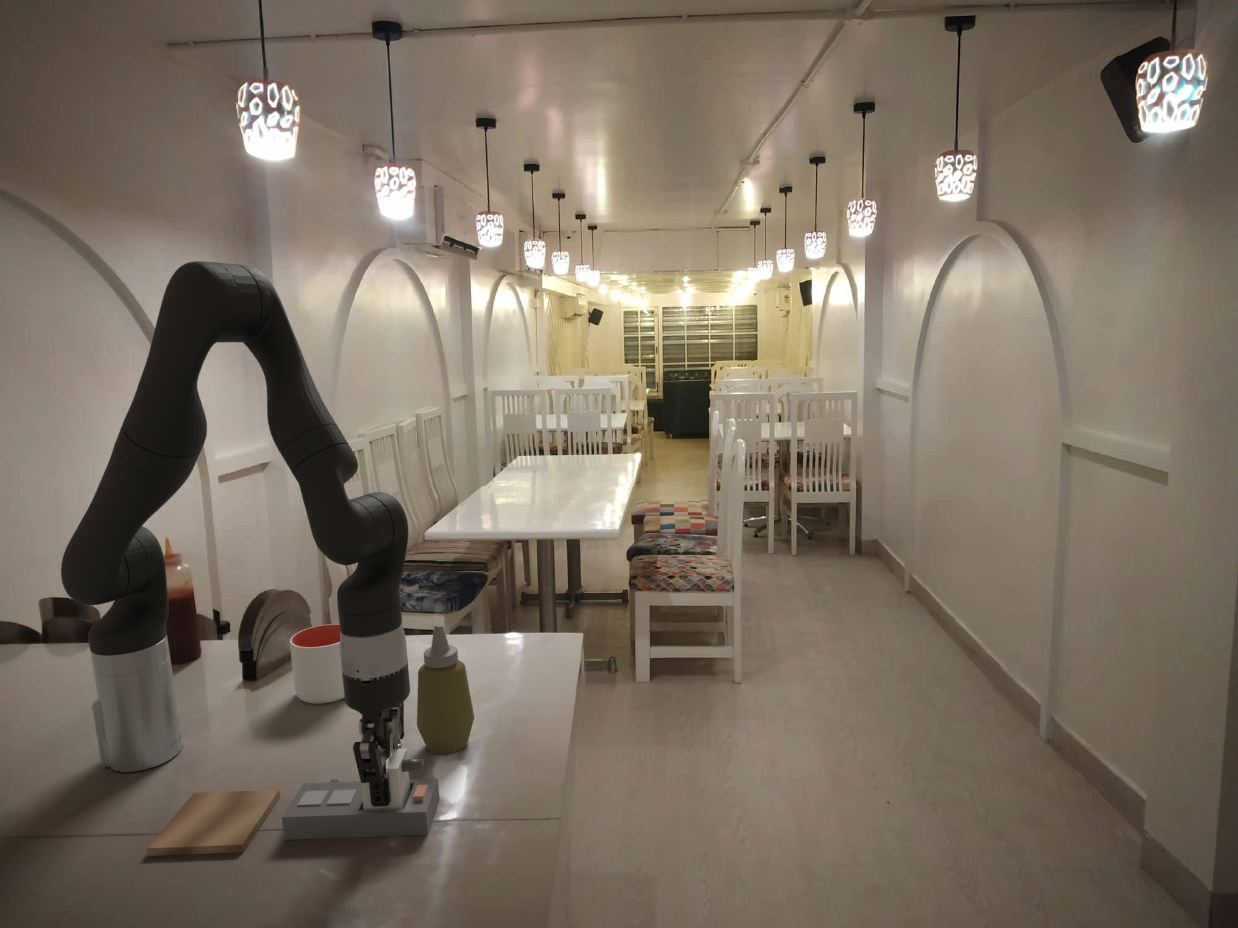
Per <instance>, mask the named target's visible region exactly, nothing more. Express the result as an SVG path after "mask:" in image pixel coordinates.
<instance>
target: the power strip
mask: <svg viewBox="0 0 1238 928" xmlns="http://www.w3.org/2000/svg"><path fill="white" fill-rule="evenodd" d="M409 781H410V792H411V793H410V796H409V798H408V801H407V803H406V806H405V808H404V809H390V810H364V808H363V798H362V788H361V781H360V780H359V781H339V780H338V779H337V778H332V779H330V781H329V782H327V781H326V782H305V783H302V785H300V788H299V789H298V791H297V793H296V794H295V796H294V797H293V799H292V800H291V802H290V803H289V805H288V807H287V808H286V810H285V811H284V813H283V815H282V816H281V822H282V829H283V831H282V832H283V839H284V841H289V840H290V841H291V840H293V841H294V840H296V841H297V840H321V839H348V838H372V837H374V838H375V837H397V836H399V837H401V836H423V835H424V836H425V835H426V836H427V835H428V836H429V832H430V829H431V826H432V823H433V821H434V818H435V814H436V811H437V808H438V806H439V802H440V790H439V779H438V778H437V777H436V778H415V779H414V778H413V779H412V778H411V779H410V778H409Z"/></svg>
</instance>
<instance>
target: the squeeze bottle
mask: <svg viewBox="0 0 1238 928" xmlns="http://www.w3.org/2000/svg"><path fill="white" fill-rule="evenodd" d="M458 652H459V651H458V648H457V647H456V646H454V645H451V644H449V641H448V638H447V635H446V631H445V627H444V625H442V624H436V625H435V626H433V634H432V641H431V646H430V647H428V648H427V649H425V650H424V651H423V663H424V664H422V665H421V666H420V667H419V669H418V671H417V700H416V701H417V703H416V704H417V705H416V707H417V709H416V726H417V730H418V732H419V733H420V736H421V738H422V740H423V743H424V744H425V747H426V748H427V750H428V751H429V752H430V753H432V754H437V755H449V754H452V753H456V752H458V751H460V750H463V749H464V748H465V747H466V746H467V745H468V742H469V739H470V736H471V732H472V727H473V724H474V722H475V713H474V708H473V702H472V697H471V691H470V690H471V689H470V684H469V680H468V675H467V670H466V665H465V663H464V662H463V661H461V660H460V659H459V653H458Z"/></svg>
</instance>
